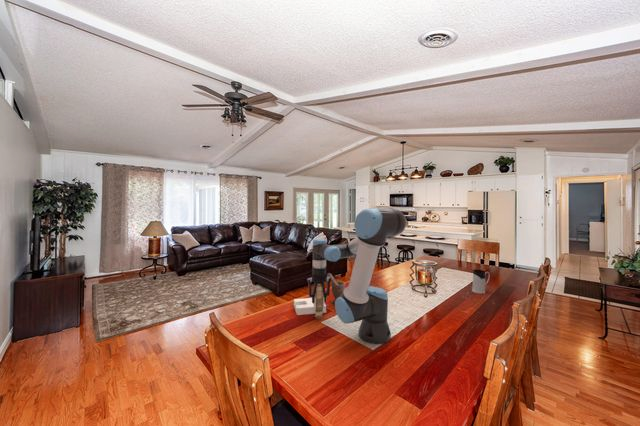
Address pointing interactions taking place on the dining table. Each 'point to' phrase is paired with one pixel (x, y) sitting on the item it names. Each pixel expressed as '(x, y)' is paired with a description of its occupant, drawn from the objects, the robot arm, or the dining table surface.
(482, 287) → the grey mug
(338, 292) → the mortar and pestle
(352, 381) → the dining table surface
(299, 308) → the board
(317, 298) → the leg peg
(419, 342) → the dining table surface
